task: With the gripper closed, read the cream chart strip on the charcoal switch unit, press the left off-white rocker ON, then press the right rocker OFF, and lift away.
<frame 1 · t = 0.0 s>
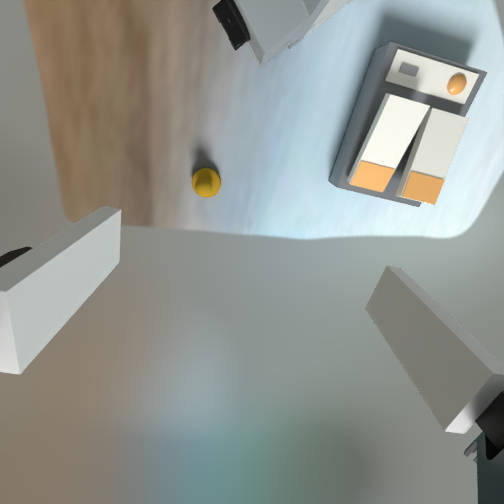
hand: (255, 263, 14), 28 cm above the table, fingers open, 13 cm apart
chess piece: (207, 181, 40), on the table
circuit breaker: (280, 10, 31), on the table
switch unit: (390, 132, 37), on the table
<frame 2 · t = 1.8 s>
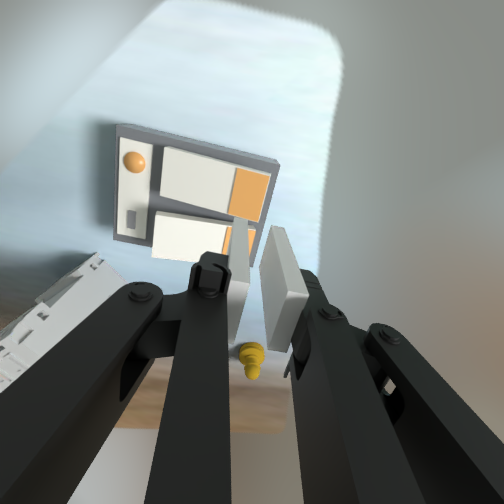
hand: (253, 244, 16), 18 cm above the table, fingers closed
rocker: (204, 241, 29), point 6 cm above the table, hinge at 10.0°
chess piece: (251, 350, 44), on the table
circuit breaker: (116, 302, 39), on the table
switch unit: (198, 195, 33), on the table
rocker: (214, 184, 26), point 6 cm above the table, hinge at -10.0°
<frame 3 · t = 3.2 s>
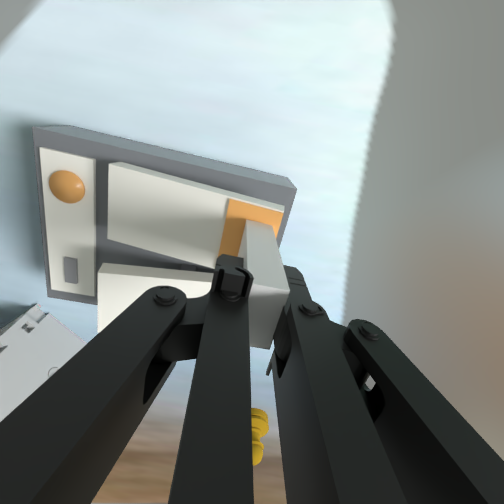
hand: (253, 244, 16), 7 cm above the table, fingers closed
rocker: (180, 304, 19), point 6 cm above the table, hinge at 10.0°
chess piece: (251, 416, 34), on the table
circuit breaker: (71, 364, 29), on the table
switch unit: (175, 227, 23), on the table
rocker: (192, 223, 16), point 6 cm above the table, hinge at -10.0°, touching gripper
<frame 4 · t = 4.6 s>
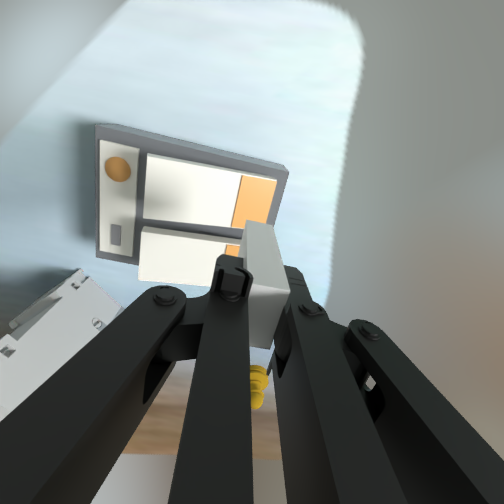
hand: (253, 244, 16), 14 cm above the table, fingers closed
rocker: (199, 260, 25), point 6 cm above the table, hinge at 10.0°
chess piece: (254, 373, 40), on the table
circuit breaker: (104, 322, 35), on the table
switch unit: (194, 205, 29), on the table
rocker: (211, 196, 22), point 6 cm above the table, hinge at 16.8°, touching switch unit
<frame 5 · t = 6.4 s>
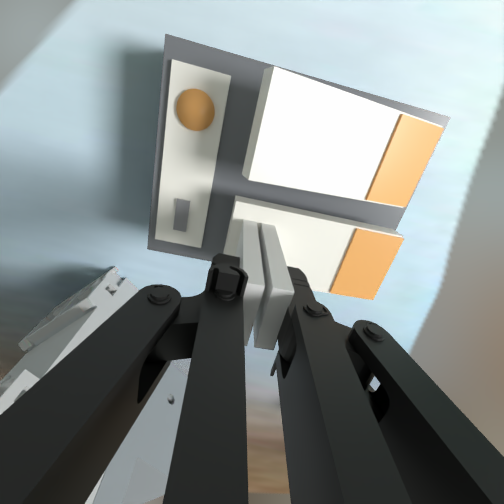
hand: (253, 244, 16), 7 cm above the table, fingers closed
circuit breaker: (141, 336, 27), on the table
switch unit: (278, 176, 21), on the table
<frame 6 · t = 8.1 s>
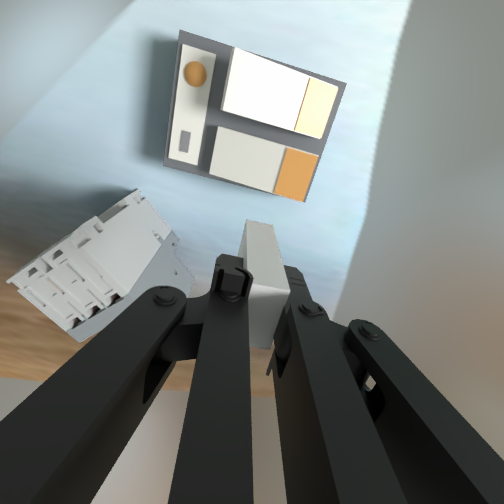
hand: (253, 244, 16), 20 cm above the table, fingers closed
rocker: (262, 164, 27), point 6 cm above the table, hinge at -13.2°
circuit breaker: (153, 246, 38), on the table
switch unit: (249, 126, 31), on the table
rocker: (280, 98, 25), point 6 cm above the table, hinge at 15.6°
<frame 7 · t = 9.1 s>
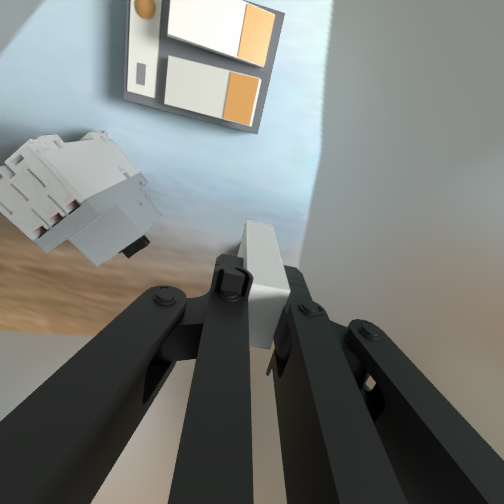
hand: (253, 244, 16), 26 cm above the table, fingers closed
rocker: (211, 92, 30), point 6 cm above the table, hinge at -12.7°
circuit breaker: (124, 190, 40), on the table
switch unit: (204, 65, 34), on the table
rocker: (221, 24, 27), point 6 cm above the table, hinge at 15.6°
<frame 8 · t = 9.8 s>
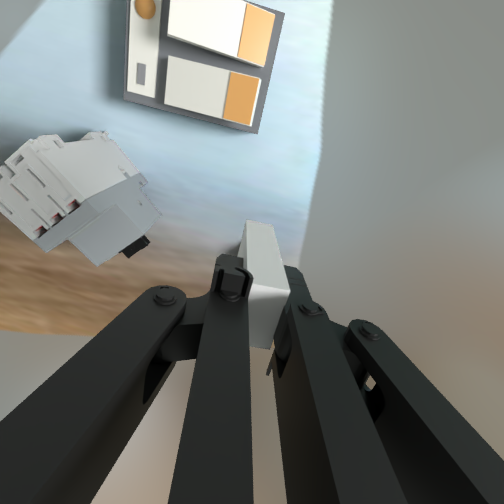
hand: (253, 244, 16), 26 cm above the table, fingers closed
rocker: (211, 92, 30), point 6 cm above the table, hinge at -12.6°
circuit breaker: (124, 190, 40), on the table
switch unit: (204, 65, 34), on the table
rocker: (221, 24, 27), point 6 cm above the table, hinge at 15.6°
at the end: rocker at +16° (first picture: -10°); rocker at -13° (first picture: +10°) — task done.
